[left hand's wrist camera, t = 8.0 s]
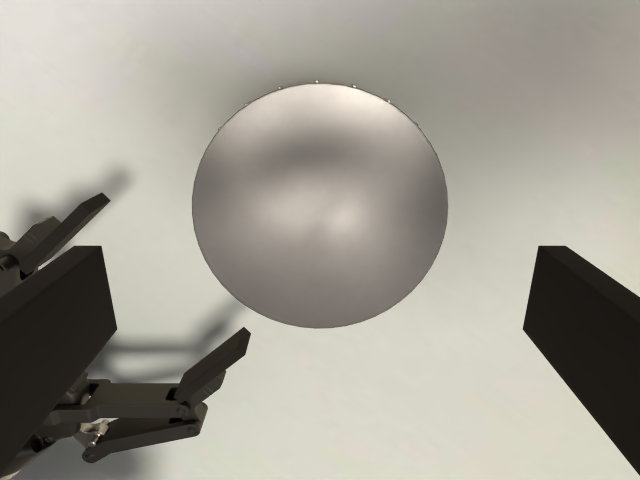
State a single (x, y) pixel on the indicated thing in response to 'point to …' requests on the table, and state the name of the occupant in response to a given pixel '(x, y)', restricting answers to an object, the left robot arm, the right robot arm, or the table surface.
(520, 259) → the table surface
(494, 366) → the table surface
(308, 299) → the lid
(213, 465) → the table surface
